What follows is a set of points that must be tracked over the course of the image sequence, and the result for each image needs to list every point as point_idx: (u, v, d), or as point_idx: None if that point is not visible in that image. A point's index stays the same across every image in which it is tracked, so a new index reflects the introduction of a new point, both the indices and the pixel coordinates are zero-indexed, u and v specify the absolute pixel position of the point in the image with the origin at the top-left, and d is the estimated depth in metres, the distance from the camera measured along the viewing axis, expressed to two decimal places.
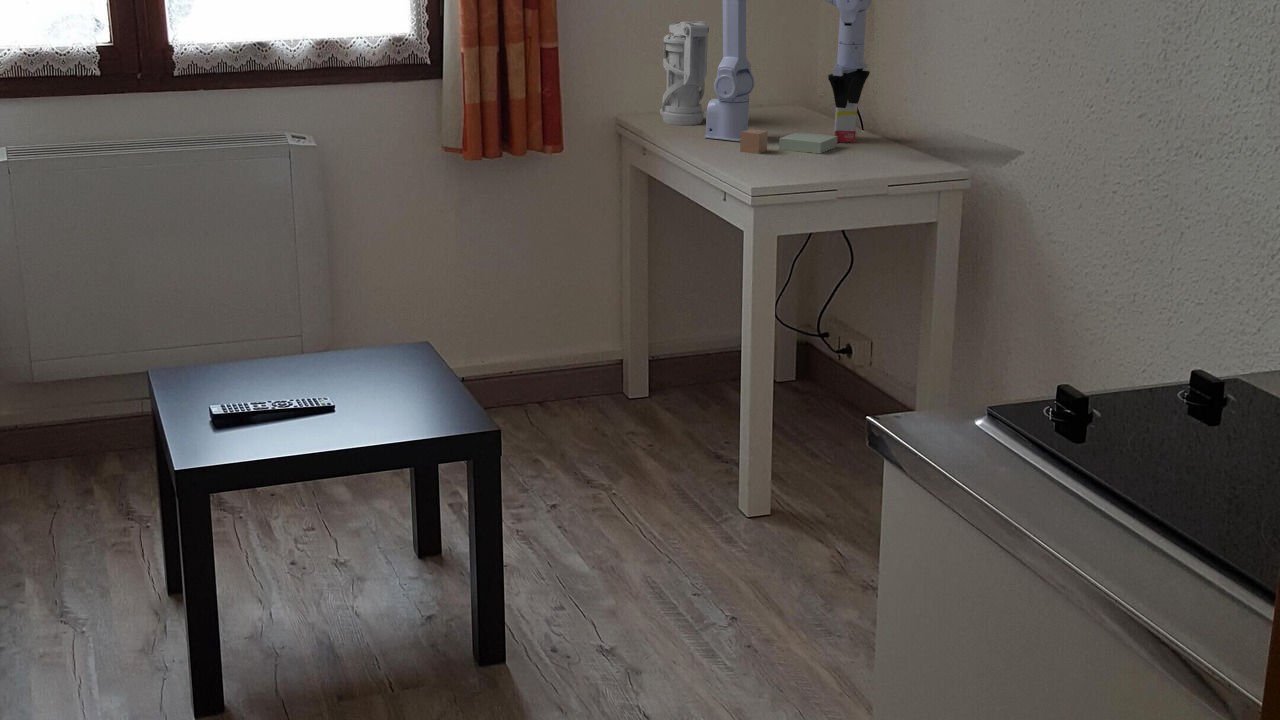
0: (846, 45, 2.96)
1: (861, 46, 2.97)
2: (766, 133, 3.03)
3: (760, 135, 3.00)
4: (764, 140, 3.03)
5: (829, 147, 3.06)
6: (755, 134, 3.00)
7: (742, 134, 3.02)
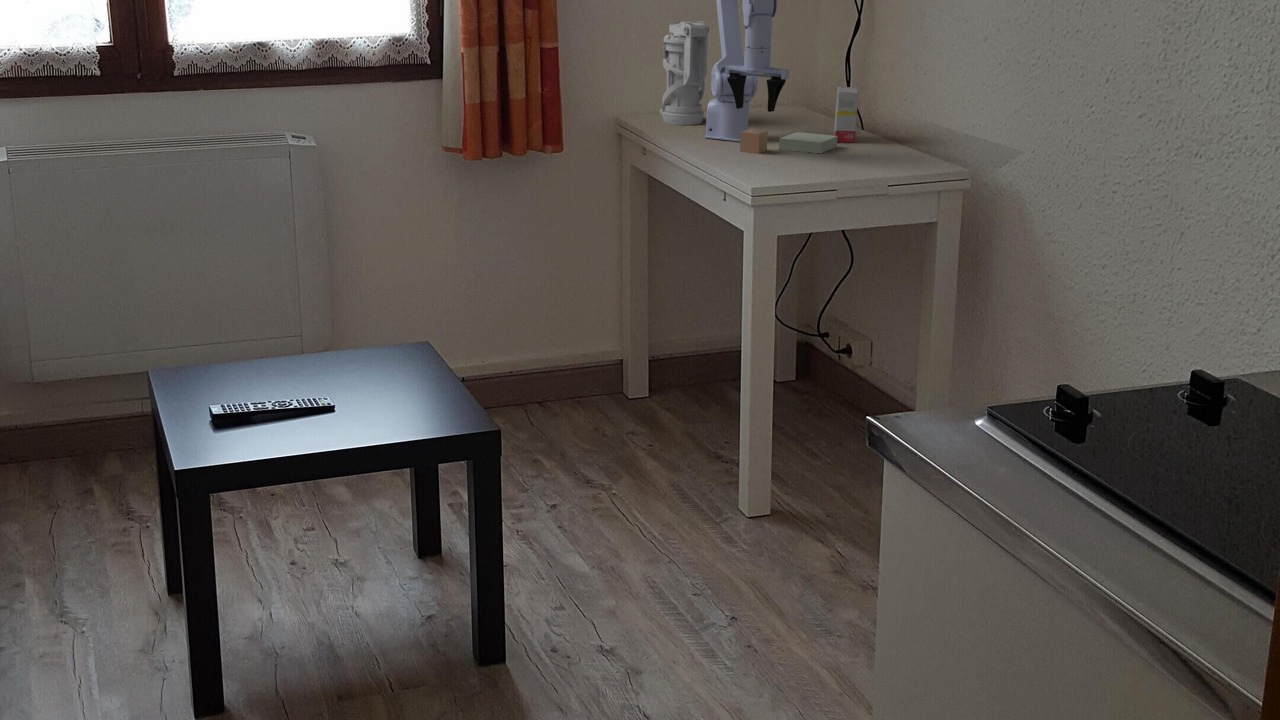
0: None
1: (749, 50, 2.95)
2: (766, 133, 3.03)
3: (760, 135, 3.00)
4: (764, 140, 3.03)
5: (829, 147, 3.06)
6: (755, 134, 3.00)
7: (742, 134, 3.02)
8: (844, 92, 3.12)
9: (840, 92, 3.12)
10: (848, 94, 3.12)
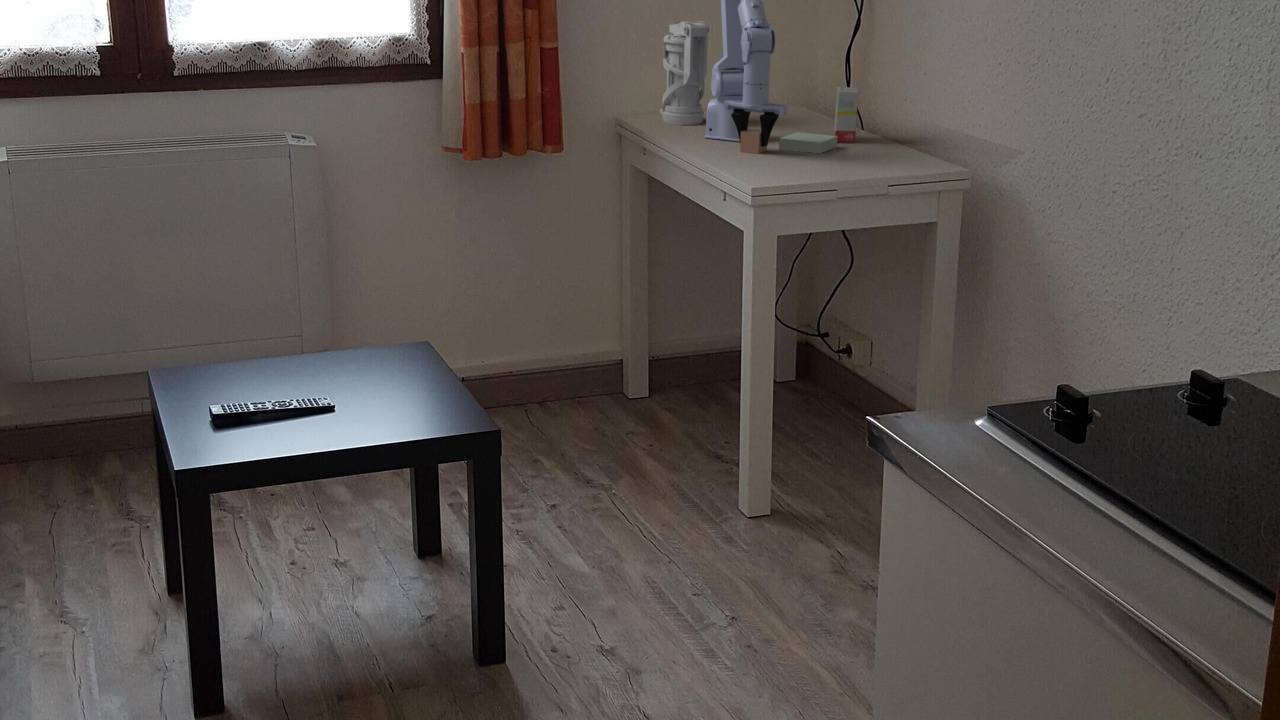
0: None
1: (747, 86, 2.97)
2: None
3: (760, 134, 3.00)
4: None
5: (829, 147, 3.06)
6: (755, 133, 3.00)
7: (742, 134, 3.02)
8: (844, 92, 3.12)
9: (840, 92, 3.12)
10: (848, 94, 3.12)
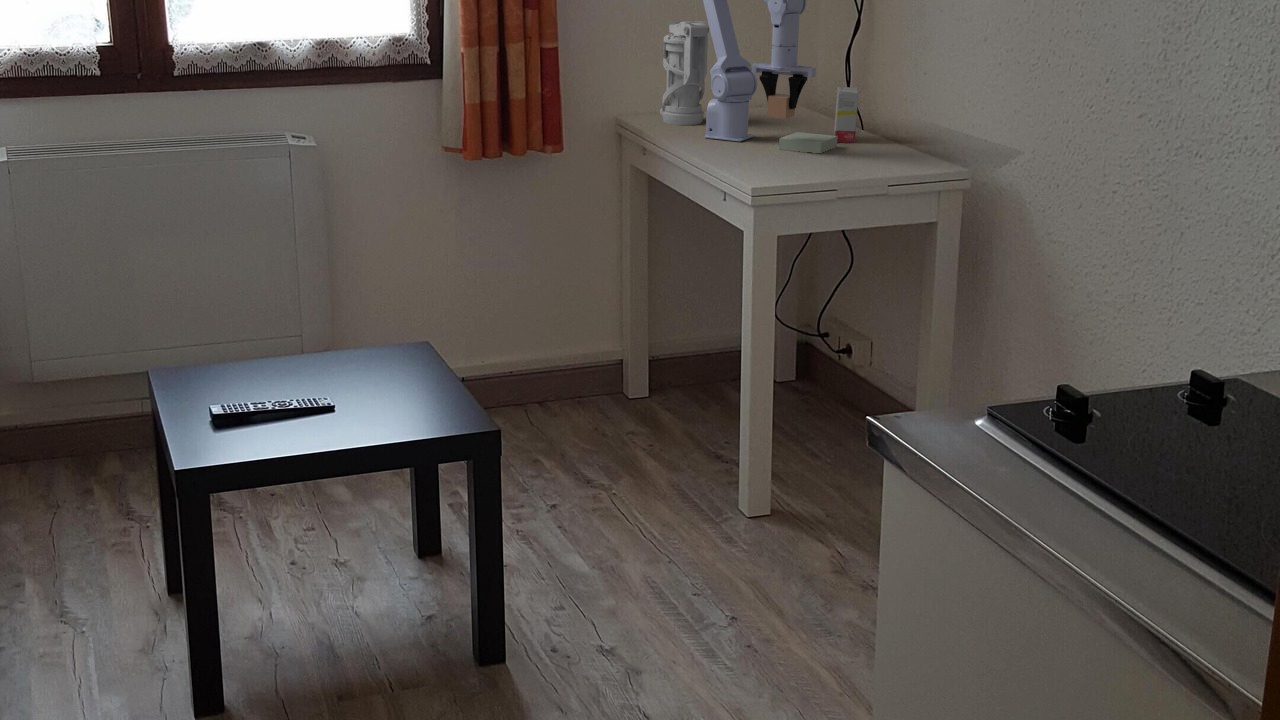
0: None
1: (776, 48, 2.97)
2: None
3: (787, 99, 2.99)
4: None
5: (829, 147, 3.06)
6: (782, 98, 2.99)
7: (769, 98, 3.01)
8: (844, 92, 3.12)
9: (840, 92, 3.12)
10: (848, 94, 3.12)
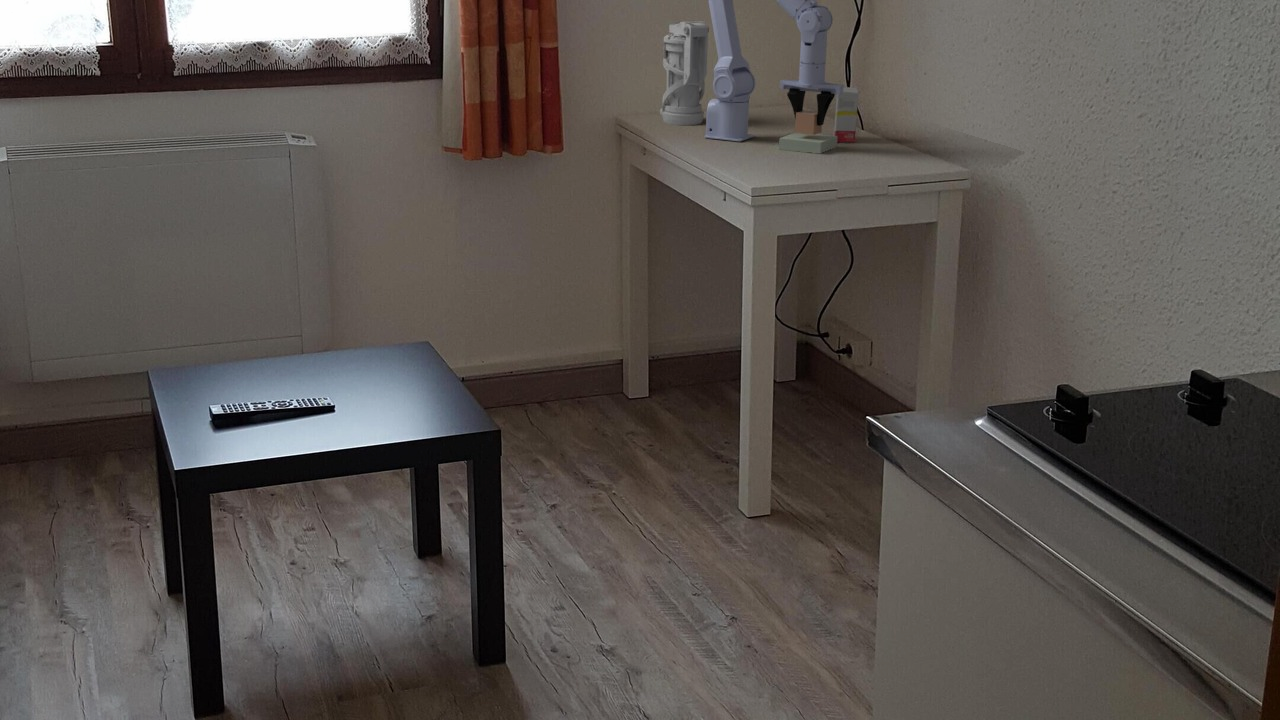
0: None
1: (804, 65, 3.00)
2: None
3: (815, 116, 3.03)
4: None
5: (829, 147, 3.06)
6: (810, 115, 3.03)
7: (797, 115, 3.04)
8: (844, 92, 3.12)
9: None
10: (848, 94, 3.12)
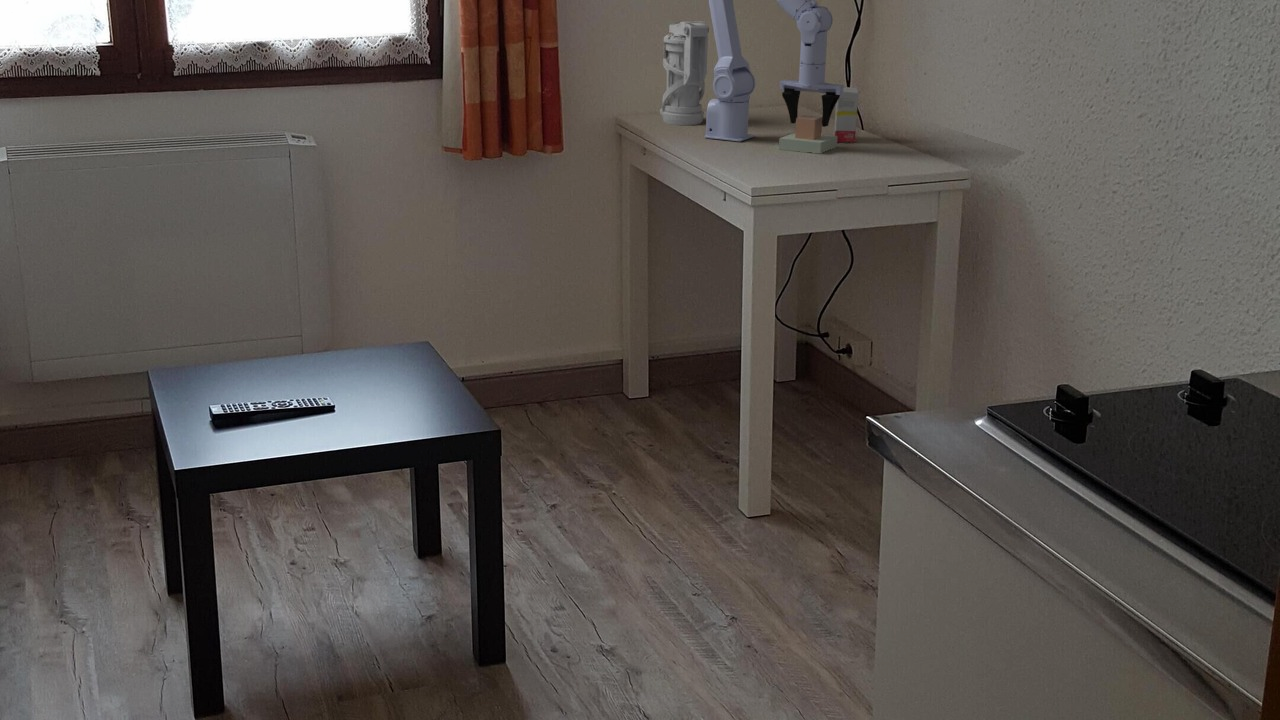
0: None
1: (804, 66, 3.00)
2: (821, 119, 3.06)
3: (815, 121, 3.03)
4: (819, 126, 3.06)
5: (829, 147, 3.06)
6: (811, 120, 3.03)
7: (797, 120, 3.05)
8: (844, 92, 3.12)
9: None
10: (848, 94, 3.12)
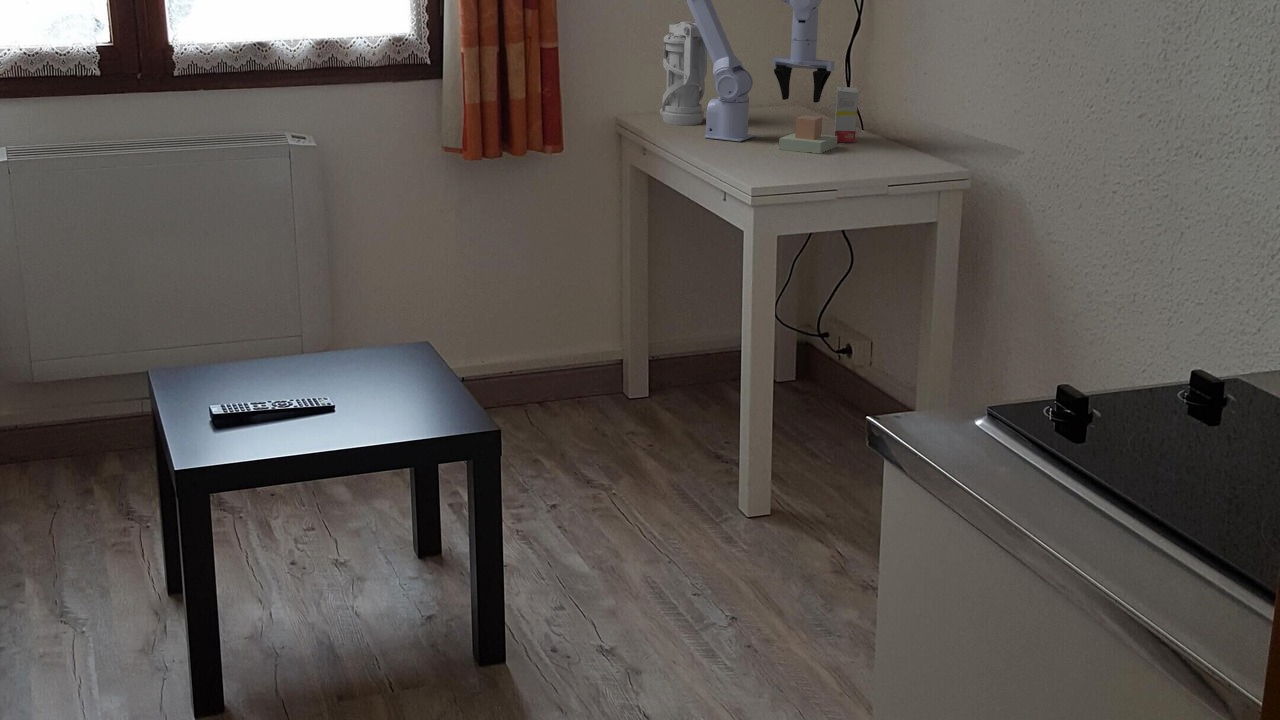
0: None
1: (795, 42, 3.04)
2: (821, 119, 3.06)
3: (815, 121, 3.03)
4: (819, 126, 3.06)
5: (829, 147, 3.06)
6: (811, 120, 3.03)
7: (797, 120, 3.05)
8: (844, 92, 3.12)
9: (840, 92, 3.12)
10: (848, 94, 3.12)
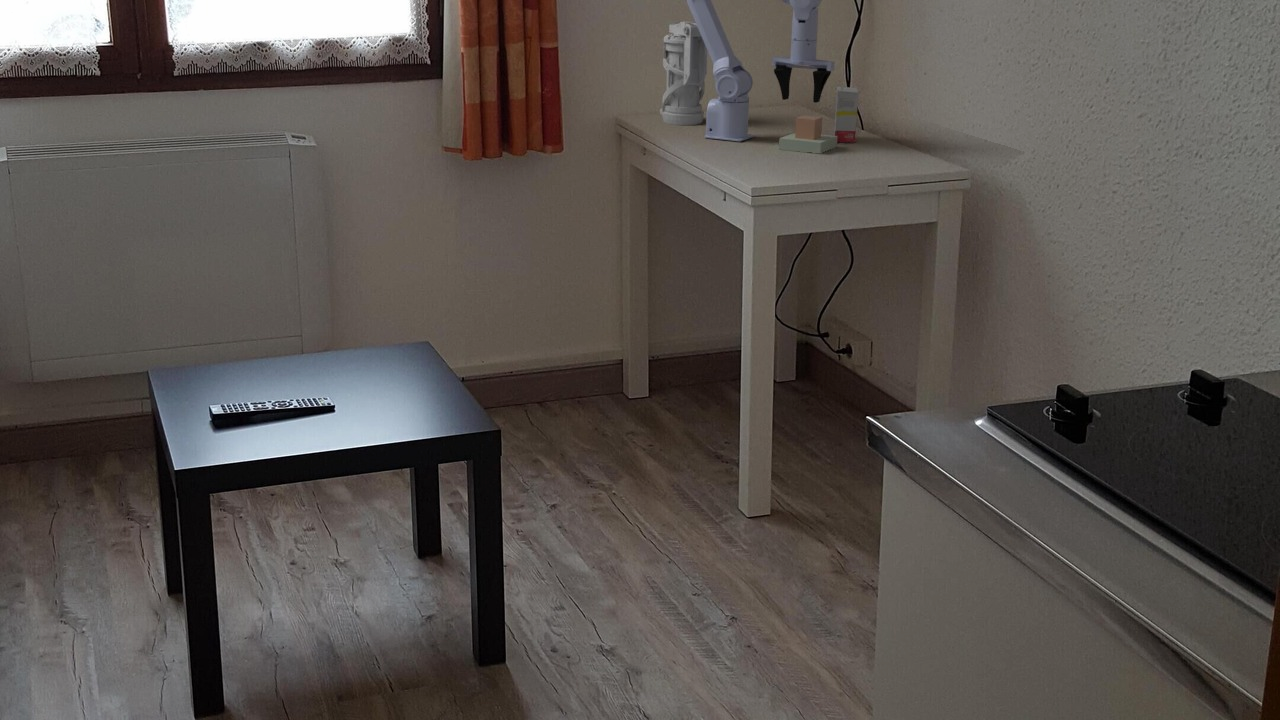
0: None
1: (795, 42, 3.04)
2: (821, 119, 3.06)
3: (815, 121, 3.03)
4: (819, 126, 3.06)
5: (829, 147, 3.06)
6: (811, 120, 3.03)
7: (797, 120, 3.05)
8: (844, 92, 3.12)
9: (840, 92, 3.12)
10: (848, 94, 3.12)
